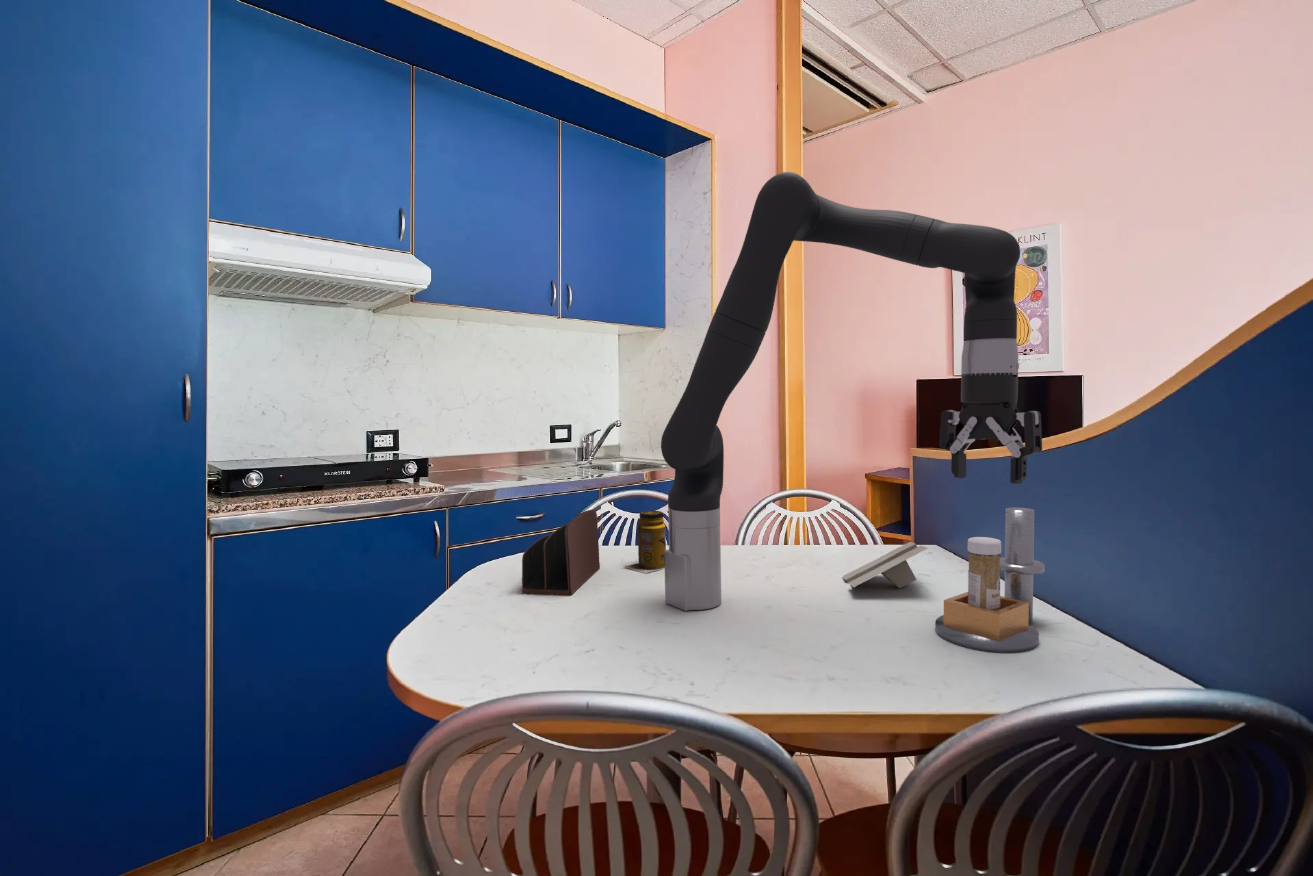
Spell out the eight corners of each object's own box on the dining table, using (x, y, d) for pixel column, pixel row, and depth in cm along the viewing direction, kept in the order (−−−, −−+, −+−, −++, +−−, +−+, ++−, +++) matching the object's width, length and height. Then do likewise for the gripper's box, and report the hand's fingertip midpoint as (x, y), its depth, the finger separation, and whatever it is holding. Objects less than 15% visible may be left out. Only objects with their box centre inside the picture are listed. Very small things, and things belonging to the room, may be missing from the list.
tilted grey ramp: (887, 625, 118) (951, 569, 117) (852, 587, 119) (916, 531, 118) (871, 610, 134) (928, 560, 133) (841, 576, 135) (897, 527, 134)
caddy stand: (1008, 660, 91) (1010, 530, 90) (916, 632, 102) (917, 516, 101) (1075, 628, 103) (1078, 512, 102) (986, 606, 114) (987, 502, 113)
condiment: (674, 566, 145) (673, 511, 145) (646, 574, 140) (645, 517, 139) (651, 560, 151) (650, 508, 150) (623, 568, 145) (622, 513, 144)
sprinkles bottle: (1003, 633, 98) (1003, 543, 97) (969, 630, 99) (969, 541, 99) (997, 623, 102) (998, 536, 101) (965, 620, 104) (965, 535, 103)
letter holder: (600, 569, 144) (598, 505, 143) (571, 597, 125) (569, 522, 124) (556, 568, 146) (554, 504, 145) (521, 595, 127) (518, 521, 126)
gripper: (930, 373, 102) (929, 478, 103) (1026, 369, 90) (1024, 488, 91) (957, 373, 106) (956, 474, 107) (1052, 369, 95) (1050, 483, 96)
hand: (987, 480), depth 99 cm, fingers open, 8 cm apart
